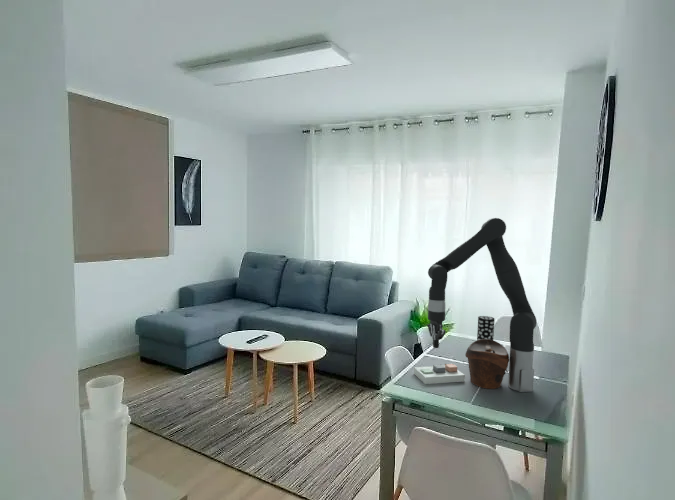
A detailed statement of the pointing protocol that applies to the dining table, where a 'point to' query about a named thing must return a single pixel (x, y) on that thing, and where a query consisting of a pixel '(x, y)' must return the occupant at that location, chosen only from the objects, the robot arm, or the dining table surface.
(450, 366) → the key terracotta
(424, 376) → the keypad board
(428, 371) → the key sage
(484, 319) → the white-spotted black cylinder
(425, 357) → the dining table surface
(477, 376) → the brown wooden rounded tub
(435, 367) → the key charcoal
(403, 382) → the dining table surface
